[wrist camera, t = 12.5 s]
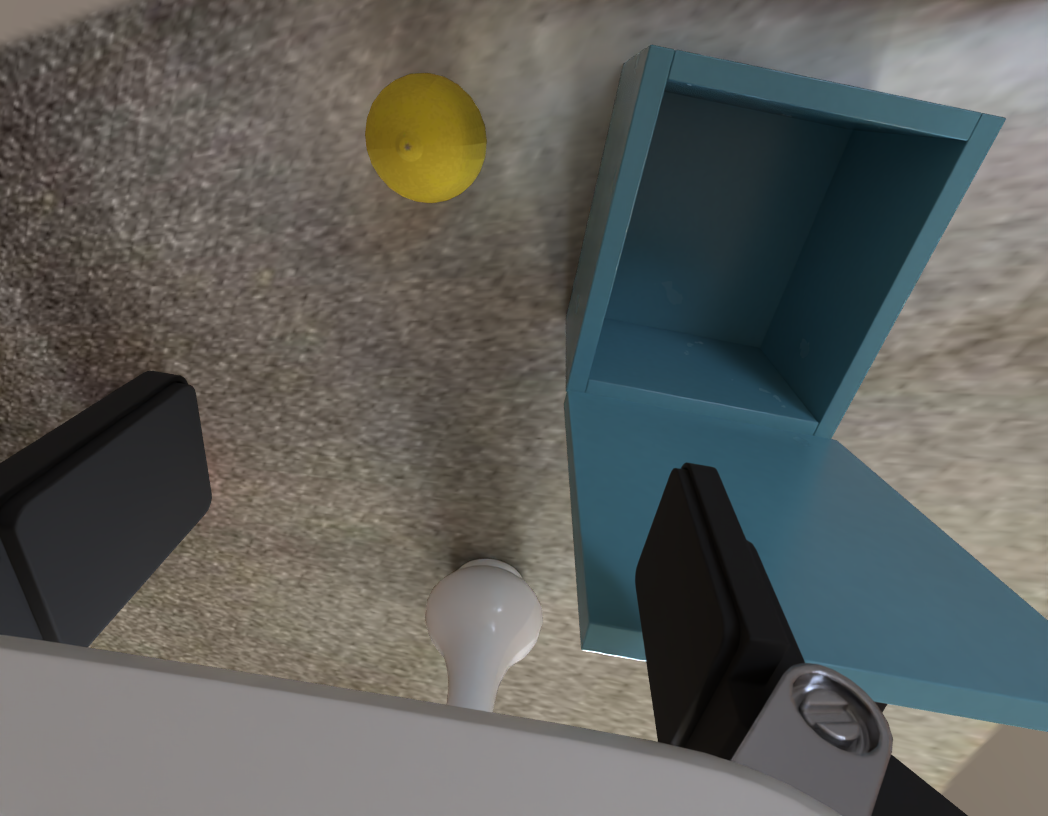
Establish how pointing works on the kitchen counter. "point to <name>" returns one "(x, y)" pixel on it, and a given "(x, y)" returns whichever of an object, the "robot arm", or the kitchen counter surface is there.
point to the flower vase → (482, 628)
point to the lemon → (426, 138)
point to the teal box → (758, 237)
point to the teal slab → (807, 560)
